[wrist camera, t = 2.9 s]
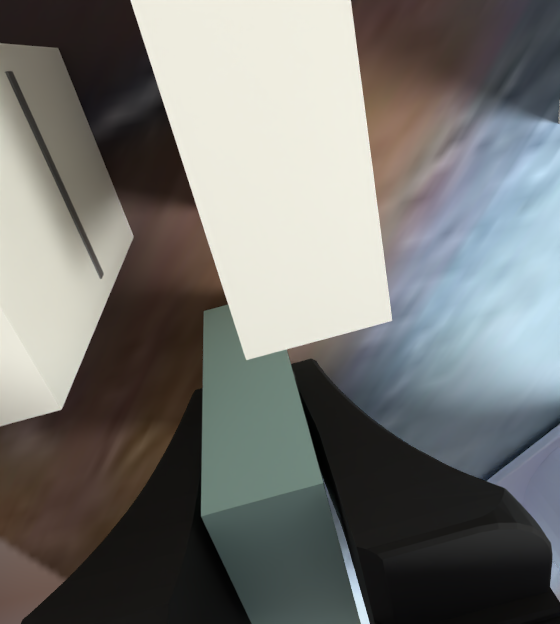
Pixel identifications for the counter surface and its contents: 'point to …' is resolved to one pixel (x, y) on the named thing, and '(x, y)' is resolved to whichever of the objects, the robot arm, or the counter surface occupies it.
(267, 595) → the domino
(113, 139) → the counter surface
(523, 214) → the counter surface
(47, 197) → the domino
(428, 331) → the counter surface
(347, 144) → the domino
